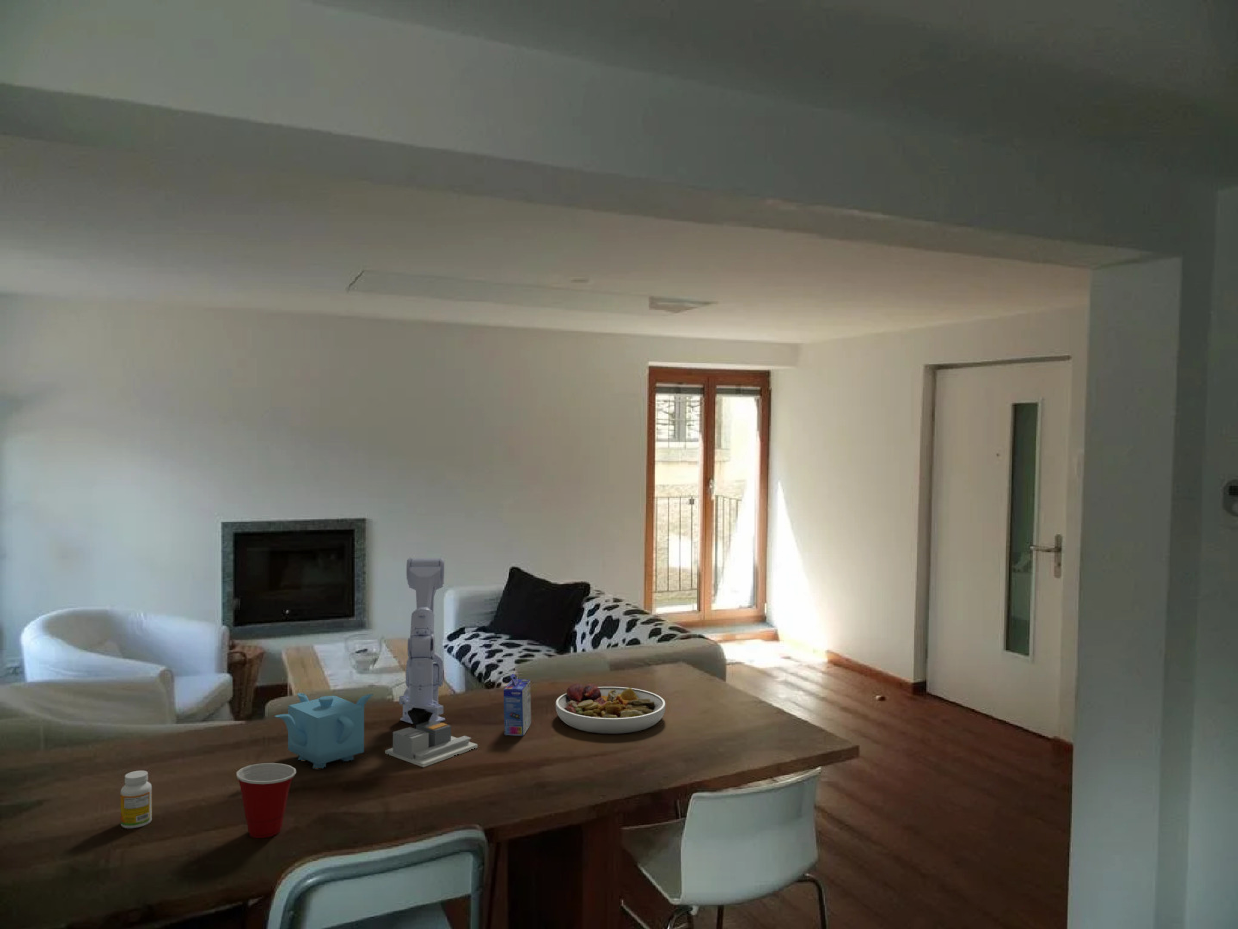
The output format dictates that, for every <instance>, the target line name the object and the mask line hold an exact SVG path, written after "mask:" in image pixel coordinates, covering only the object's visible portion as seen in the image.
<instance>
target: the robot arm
mask: <svg viewBox="0 0 1238 929" xmlns="http://www.w3.org/2000/svg"><path fill="white" fill-rule="evenodd" d="M405 570H406V571H405V572H406V580H407V585H408V588H410V589H411V590H414V591H415V598H416V601H415V603H416V609H415V610H414V611H413V612H412V613H411V616H410V617H411V618H410V633H409V634H410V636H409V637H408V639H407V651H406V652H407V660H406V668H405V686H406V687H407V688H406V689H405V690H404V692H403V695H400V696H399V697H398V698H399V700H398V702H399V703H398V704H399V705H402V717H401V718H400V721H403V722H405V723H409V724H412V726H413V728H414V729H416V725H418V724H421V723H424V722H427V721H430V720H434V721H437V722H440V723H442V722H444V721H446V718H445V717H442V716H440V715H443V714H444V705H442V704H440V703H439V689H440V688H439V687H442V686H443V685H444V659H443V657H442V656H441V655H440V654H439V653H437V652H436V639H435V638H436V637H435V612H434V610H435V609H434V607H435V604H434V603H435V595H436V592H437V590H439V589H441V588H443V587H444V586H443V585H444V582H445V581H444V580H445V558H443V557H441V556H440V557H423V558H422V557H420V558H419V557H408V558H407V560H406V569H405Z"/></svg>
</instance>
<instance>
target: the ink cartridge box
mask: <svg viewBox="0 0 1238 929" xmlns="http://www.w3.org/2000/svg"><path fill="white" fill-rule="evenodd" d="M509 678H510V681H509V683H508V684H507V685H506V686H505V687H504V688H503V719H504V721H503V723H504V725H503V726H504V727H503V728H504V736H514V737H515V736H516V737H517V736H518V737H523V736H525V734H526V732H527V731H528V729H529V728H530V726H531V725H532V708H531V707H532V705H531V701H532V699H531V698H532V696H531V679H524V678H523V679H521V678H520V679H519V678H517V676H516V675H515V673H512V674H511V675H510V676H509Z"/></svg>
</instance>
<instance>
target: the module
mask: <svg viewBox="0 0 1238 929" xmlns="http://www.w3.org/2000/svg"><path fill="white" fill-rule="evenodd" d="M416 729H417V730H422V731H425V732H427V733H429V742H428V748H430V747H433V746H436V745H439V744H442V743H445V742H448V741H451V736H452V725H449V724H447V723H445V722H437V721H434V720H430V721H427V722H424V723H421V724H418V725H416Z"/></svg>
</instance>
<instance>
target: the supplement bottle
mask: <svg viewBox="0 0 1238 929" xmlns="http://www.w3.org/2000/svg"><path fill="white" fill-rule="evenodd" d="M148 780H149V773H148V771H146V770H135V771H130V772H128V773H126V774H125V775H124V785H123V786H122V788H120V826H121V827H122V828H125V829H136V828H141V827H144V826H146V825H148V824H150V823H151V822H152V820H153V818H152V817H153V798H152V797H153V786H152V783H151V782H150V781H148Z"/></svg>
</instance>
